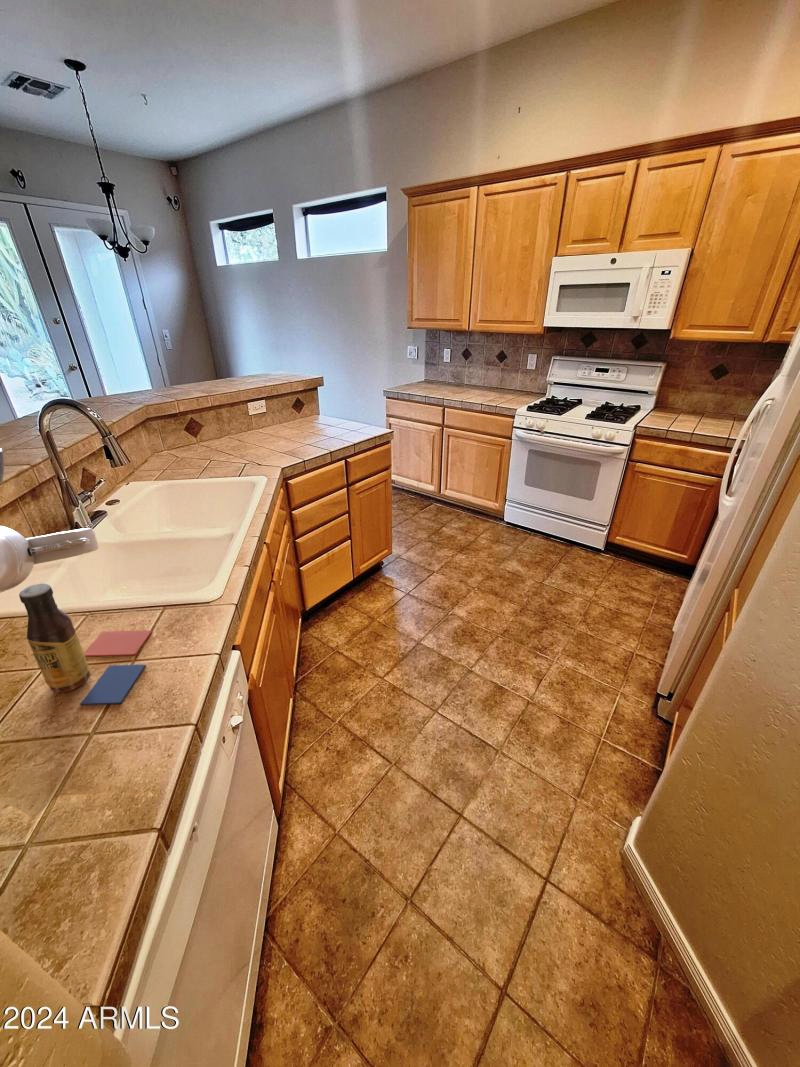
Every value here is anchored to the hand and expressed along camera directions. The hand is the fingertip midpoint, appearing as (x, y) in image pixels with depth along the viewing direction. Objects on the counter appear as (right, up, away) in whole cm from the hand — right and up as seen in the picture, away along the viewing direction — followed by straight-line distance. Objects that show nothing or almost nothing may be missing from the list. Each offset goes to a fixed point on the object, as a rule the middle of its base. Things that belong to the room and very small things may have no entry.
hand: (31, 550), depth 67 cm
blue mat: (+7, -24, +9) cm, 27 cm away
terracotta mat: (+1, -20, +19) cm, 27 cm away
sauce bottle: (-1, -24, +10) cm, 26 cm away
